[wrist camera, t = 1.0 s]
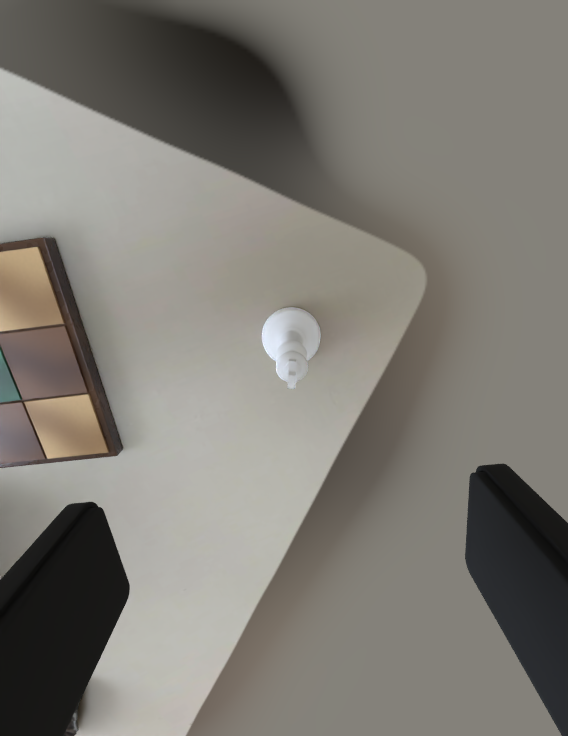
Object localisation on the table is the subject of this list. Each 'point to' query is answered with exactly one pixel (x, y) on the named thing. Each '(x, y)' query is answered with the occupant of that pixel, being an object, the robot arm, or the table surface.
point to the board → (46, 365)
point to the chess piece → (291, 342)
